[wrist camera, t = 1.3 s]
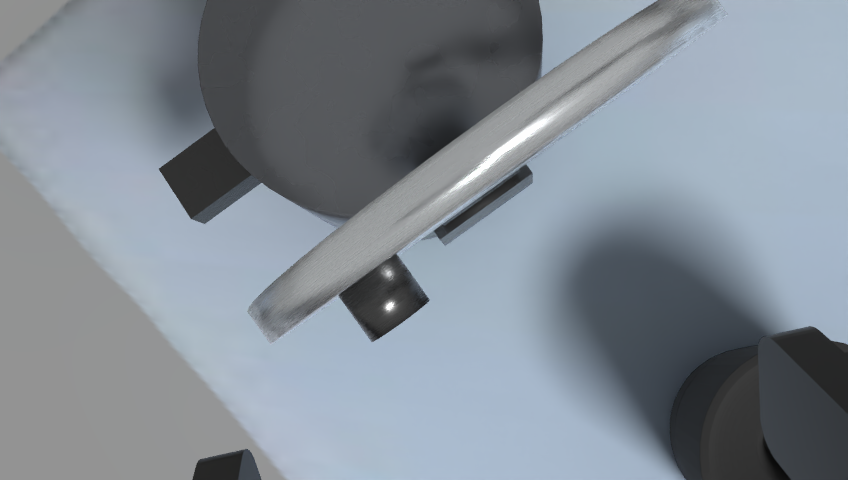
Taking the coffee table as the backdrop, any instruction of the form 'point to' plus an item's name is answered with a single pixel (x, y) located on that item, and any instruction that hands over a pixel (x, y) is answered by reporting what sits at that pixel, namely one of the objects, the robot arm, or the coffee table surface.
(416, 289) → the cooker lid
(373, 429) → the coffee table surface
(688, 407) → the pen holder
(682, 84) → the coffee table surface
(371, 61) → the cooker pot
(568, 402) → the coffee table surface
